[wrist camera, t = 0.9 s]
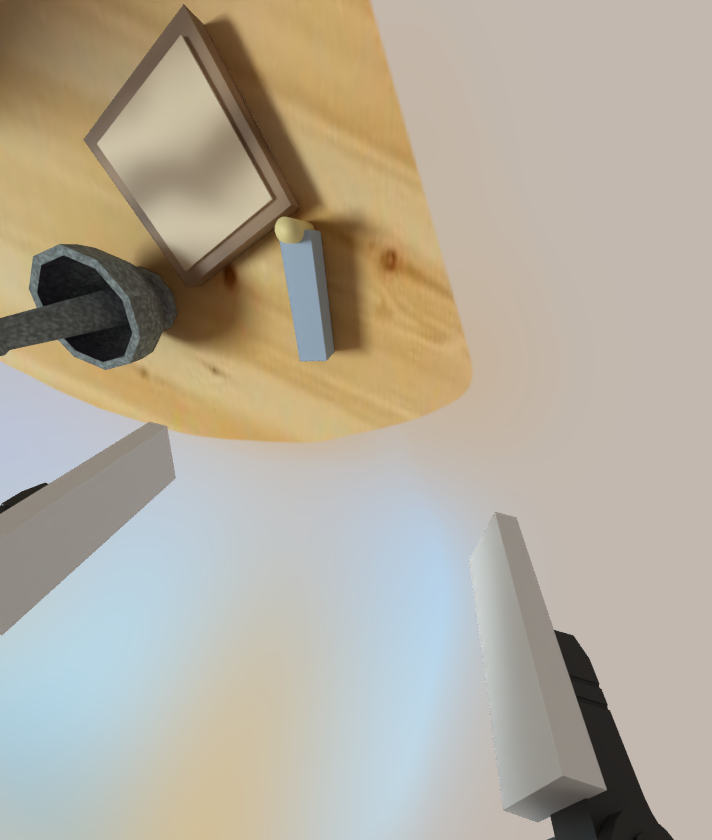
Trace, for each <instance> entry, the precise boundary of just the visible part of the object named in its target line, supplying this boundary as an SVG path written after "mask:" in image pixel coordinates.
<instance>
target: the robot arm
mask: <svg viewBox="0 0 712 840" xmlns="http://www.w3.org/2000/svg"><path fill="white" fill-rule="evenodd" d="M175 478H176V477H175V471H174V465H173V459H172V454H171V448H170V442H169V436H168V430H167V426H164V425H160V424H156V423H152V422H149V423H147V424H145V425H144V426H142V427H141V428H139V429H137V430H136V431H134V432H132V433H131V434H129V435H127V436H126V437H124V438H123V439H121V440H119V441H118V442H116V443H115V444H113V445H111V446H110V447H108V448H106V449H105V450H103V451H102V452H100V453H98V454H97V455H95V456H94V457H92V458H90V459H89V460H87V461H85V462H84V463H82V464H81V465H79V466H77V467H76V468H74V469H72V470H71V471H69V472H68V473H66V474H64V475H63V476H61V477H59V478H58V479H56V480H55V481H53V482H51V483H50V484H47V483H43V484H40V485H38V486H35V487H32V488H30V489H27V490H25V491H22V492H20V493H19V494H17V495H15V496H13V497H12V498H10V499H8V500H7V501H5V502H3V503H2V504H1V506H0V635H1V636H2V635H3V634H4V633H5V632H6V631H7V630H8V629H9V628H10V627H12V626H13V625H14V624H15V623H16V622H17V621H18V620H19V619H21V618H22V617H23V616H24V615H25V614H26V613H27V612H28V611H29V610H30V609H32V608H33V607H34V606H35V605H36V604H37V603H38V602H39V601H40V600H41V599H43V598H44V597H45V596H46V595H47V594H48V593H49V592H50V591H51V590H53V589H54V588H55V587H56V586H57V585H58V584H59V583H60V582H61V581H63V580H64V579H65V578H66V577H67V576H68V575H69V574H70V573H71V572H72V571H74V570H75V568H77V567H78V566H79V565H80V564H81V563H82V562H84V561H85V560H86V559H87V558H88V557H89V556H90V555H91V554H92V553H93V552H95V551H96V550H97V549H98V548H99V547H100V546H101V545H102V544H103V543H105V542H106V541H107V540H108V539H109V538H110V537H111V536H112V535H113V534H114V533H116V532H117V531H118V530H119V529H120V528H121V527H122V526H123V525H124V524H125V523H127V522H128V521H129V520H130V519H131V518H132V517H133V516H134V515H135V514H137V513H138V512H139V511H140V510H141V509H142V508H143V507H144V506H145V505H146V504H147V503H149V502H150V501H151V500H152V499H153V498H154V497H155V496H156V495H158V494H159V493H160V492H161V491H162V490H163V489H164V488H165V487H166V486H167V485H168V484H169V483H171V482H172V481H173V480H174V479H175ZM469 562H470V569H471V576H472V584H473V591H474V598H475V606H476V613H477V621H478V628H479V635H480V643H481V650H482V658H483V665H484V672H485V680H486V687H487V695H488V702H489V709H490V716H491V724H492V732H493V739H494V747H495V754H496V761H497V768H498V776H499V784H500V791H501V798H502V806H503V810H504V811H507V812H510V813H512V814H515V815H518V816H521V817H524V818H527V819H530V820H533V821H535V822H539V821H542V820H544V819H546V818H548V817H550V816H551V821H552V825H553V830H554V835H555V837H553V838H550V839H548V840H674V839H673V838H672V837H671V836H670V834H669V833H668V832H667V831H666V830H665V829H664V828H663V827H662V826H661V825H660V824H658V822H657V821H656V819H655V817H654V816H653V814H652V812H651V810H650V808H649V806H648V804H647V802H646V800H645V797H644V795H643V793H642V790H641V788H640V785H639V783H638V780H637V778H636V775H635V773H634V770H633V767H632V765H631V763H630V760H629V758H628V755H627V752H626V750H625V747H624V745H623V742H622V740H621V737H620V735H619V732H618V730H617V727H616V725H615V722H614V720H613V717H612V715H611V712H610V710H608V708H607V702H606V700H605V697H604V694H603V692H602V689H600V688H599V682H598V679H597V677H596V674H595V672H594V669H593V667H592V664H591V662H590V659H589V657H588V656H587V655H586V653H585V652H584V650H583V649H582V647H581V646H580V644H579V643H578V642H577V640H576V639H575V637H574V636H573V635H569V634H566V633H563V632H559V631H556V630H554V629H553V626H552V623H551V620H550V617H549V614H548V611H547V609H546V605H545V602H544V599H543V596H542V593H541V590H540V587H539V584H538V581H537V578H536V575H535V572H534V569H533V566H532V563H531V560H530V557H529V554H528V551H527V548H526V545H525V542H524V539H523V537H522V533H521V530H520V527H519V524H518V522H517V518H516V517H513V516H509V515H505V514H501V513H497V512H495V513H494V515H493V516H492V518H491V520H490V522H489V524H488V526H487V528H486V529H485V532H484V534H483V535H482V537H481V539H480V541H479V542H478V544H477V546H476V548H475V550H474V552H473V553H472V555H471V557H470V559H469Z"/></svg>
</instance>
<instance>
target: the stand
mask: <svg viewBox="0 0 712 840" xmlns="http://www.w3.org/2000/svg"><path fill="white" fill-rule="evenodd" d="M84 141H85V142H86V144H87V145H88V147H89V148H90V150H91V151H92V152H93V154H94V155H95V157H96V158H97V160H98V161H99V162H100V164H101V165H102V167H103V168H104V169H105V171H106V172H107V174H108V175H109V177H110V178H111V179H112V181H113V182H114V184H115V185H116V187H117V188H118V189H119V191H120V192H121V194H122V195H123V196H124V198H125V199H126V201H127V202H128V204H129V205H130V206H131V208H132V209H133V211H134V212H135V214H136V215H137V216H138V218H139V219H140V221H141V222H142V223H143V225H144V226H145V228H146V229H147V231H148V232H149V233H150V235H151V236H152V238H153V239H154V241H155V242H156V243H157V245H158V246H159V248H160V249H161V250H162V252H163V253H164V255H165V256H166V258H167V259H168V260H169V262H170V263H171V265H172V266H173V268H174V269H175V270H176V272H177V273H178V275H179V276H180V277H181V279H182V280H183V282H184V283H185V285H186V286H187V287H188V288H190V287H196V286H202V285H203V284H204V283H205V282H207V281H208V280H209V279H211V278H212V277H213V276H214V275H216V274H217V273H218V272H219V271H221V270H222V269H223V268H225V267H226V266H227V265H228V264H230V263H231V262H232V261H233V260H235V259H236V258H237V257H239V256H240V255H241V254H242V253H244V252H245V251H246V250H247V249H249V248H250V247H251V246H253V245H254V244H255V243H256V242H258V241H259V240H260V239H262V238H263V237H264V236H265V235H267V234H268V233H269V232H270V231H272V230H273V229H274V228H275V224H276V222H277V220H278V219H279V218H281V217H290V216H291V215H292V214H293V213H295V212H296V211H297V210H298V209H300V206H299V204H298V202H297V201H296V199H295V197H294V195H293V193H292V191H291V189H290V187H289V185H288V183H287V182H286V180H285V178H284V176H283V174H282V172H281V170H280V168H279V166H278V165H277V163H276V161H275V159H274V157H273V155H272V153H271V151H270V149H269V148H268V146H267V144H266V142H265V140H264V138H263V136H262V134H261V132H260V131H259V129H258V127H257V125H256V123H255V121H254V119H253V117H252V115H251V113H250V112H249V110H248V108H247V106H246V104H245V102H244V100H243V98H242V96H241V95H240V93H239V91H238V89H237V87H236V85H235V83H234V81H233V79H232V78H231V76H230V74H229V72H228V70H227V68H226V66H225V64H224V62H223V61H222V59H221V57H220V55H219V53H218V51H217V49H216V47H215V45H214V43H213V42H212V40H211V38H210V36H209V34H208V32H207V30H206V28H205V26H204V25H203V23H202V22H201V21H200V20H199V19H198V18H197V17H196V16H195V15H194V14H193V13H192V12H191V11H190V10H189V9H188V8H187V7H186V6H185V5H184V4H183V6H182V7H181V9H180V10H179V11H178V13H177V14H176V15H175V17H174V18H173V19H172V21H171V22H170V23H169V25H168V26H167V27H166V29H165V30H164V32H163V33H162V34H161V36H160V37H159V38H158V40H157V41H156V42H155V44H154V45H153V46H152V48H151V49H150V50H149V52H148V53H147V54H146V56H145V57H144V59H143V60H142V61H141V63H140V64H139V65H138V67H137V68H136V69H135V71H134V72H133V73H132V75H131V76H130V77H129V79H128V80H127V82H126V83H125V84H124V86H123V87H122V88H121V90H120V91H119V92H118V94H117V95H116V96H115V98H114V99H113V100H112V102H111V103H110V104H109V106H108V107H107V109H106V110H105V111H104V113H103V114H102V115H101V117H100V118H99V119H98V121H97V122H96V123H95V125H94V126H93V127H92V129H91V130H90V132H89V133H88V134H87V136H86V137H85V138H84Z"/></svg>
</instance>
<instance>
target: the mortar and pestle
mask: <svg viewBox="0 0 712 840" xmlns="http://www.w3.org/2000/svg"><path fill="white" fill-rule="evenodd" d="M29 290H30V293H31V295H32V297H33V300H34V302H35V304H36V306H37V308H36V309H32V310H28V311H25V312H21V313H17V314H14V315H10V316H6V317H3V318H0V356H3V355H5V354H6V353H7V352H8V351H9V350H12V349H16V348H21V347H26V346H30V345H35V344H40V343H44V342H49V341H54V340H59V341H60V342H61V343H62V345H63V346H64V347H65V348H66V349H67V350H68V351H69V352H70V353H71V354H72V355H73V356H74V357H76V358H79V359H81V360H84V361H86V362H88V363H91V364H93V365H95V366H98V367H100V368H102V369H105V370H107V369H111V368H115V367H118V366H122V365H126V364H130V363H132V362H135V361H138V360H140V359H143V358H144V357H146V356H147V355H149V354H150V353H152V352H153V351H154V349H155V347H156V345H157V343H158V341H159V339H160V336H161V334H162V331H163V330H166V329H169V328H171V327H172V324H173V322H174V320H175V317H176V315H177V310H176V306H175V301H174V297H173V293H172V291H171V290H170V289H169V288H168V286H167V285H166V284H165V283H164V281H163V280H162V279H161V278H160V276H159V275H158V274H156V273H154V272H151V271H149V270H147V269H144V268H142V267H140V266H139V267H136V266H134V265H132V264H131V263H129V262H127V261H125V260H122V259H120V258H118V257H115V256H113V255H111V254H108V253H106V252H104V251H101V250H99V249H97V248H93V247H88V246H82V245H77V244H59V245H57V246H55V247H53V248H50V249H48V250H46V251H44V252H42V253H40V254H37V255H35V256H33V262H32V269H31V277H30V285H29Z"/></svg>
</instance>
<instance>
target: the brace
mask: <svg viewBox="0 0 712 840" xmlns="http://www.w3.org/2000/svg"><path fill="white" fill-rule="evenodd" d="M275 233H276V236H277V238H278V239H279V240H280V246H281V252H282V258H283V264H284V270H285V275H286V281H287V287H288V293H289V299H290V305H291V311H292V317H293V323H294V328H295V334H296V340H297V346H298V352H299V358H300V361H327V360H328V359H329V358H330V356H331V355H332V354H333V353H334V343H333V334H332V326H331V317H330V308H329V300H328V291H327V282H326V274H325V265H324V256H323V247H322V239H321V231H316V230H315V228H314V226H313V225H312V224H311V223H310V222H307V221H303V220H298V219H294V218H289V217H281V218H279V219H278V220H277V222H276V224H275Z"/></svg>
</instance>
